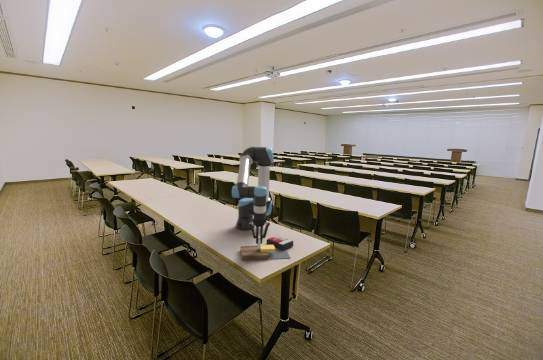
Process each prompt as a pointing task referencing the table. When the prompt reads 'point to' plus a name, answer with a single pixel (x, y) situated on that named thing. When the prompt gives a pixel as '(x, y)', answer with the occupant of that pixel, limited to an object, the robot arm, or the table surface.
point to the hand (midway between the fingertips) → (258, 248)
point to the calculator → (280, 242)
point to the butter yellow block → (267, 248)
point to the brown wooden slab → (253, 253)
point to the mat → (279, 254)
